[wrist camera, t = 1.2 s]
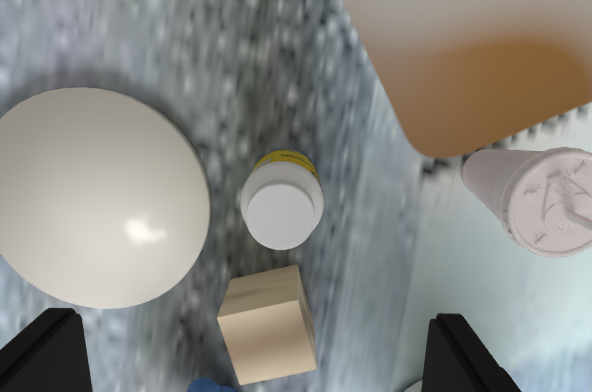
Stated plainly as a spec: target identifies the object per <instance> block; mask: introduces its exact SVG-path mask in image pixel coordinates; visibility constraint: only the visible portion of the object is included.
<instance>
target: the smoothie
mask: <svg viewBox="0 0 592 392" xmlns="http://www.w3.org/2000/svg"><path fill="white" fill-rule="evenodd" d="M462 178H463V181H464V184H465V185H466V187H467V188H468V189H469V190H470V191H471V192H472V193H473V194H474V195H475V196H476V197H477V198H478V199H479V200H480V201H481V202H482V203H483V204H484V205H485V206H486V207H487V208H488V209H489V210H490V211H491V212H492V213H493V214H494V215H495V216H496V217H497V218H498V219H499V220H500V221H501V222H502V225H503V227H504V229H505V231H506V232H507V234H508V235H509V237H510V238H511V239H512V240H513V241H515V242H516V243H517V244H518V245H519V246H522V247H524V248H526V249H527V250H529V251H530V252H532V253H535V254H537V255H541V256H545V257H565V256H570V255H573V254H576V253H579V252H581V251H583V250H585V249H587V248H589V247H591V246H592V153H589V152H585V151H583V150H581V149H575V148H569V147H562V148H552V149H549V150H546V151H522V150H503V149H482V150H479V151H477V152H475V153H474V154H472V155H471V156H470V157H469V158H468V159H467V161H466V162H465V164H464V166H463V170H462Z"/></svg>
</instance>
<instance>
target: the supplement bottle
mask: <svg viewBox="0 0 592 392" xmlns="http://www.w3.org/2000/svg"><path fill="white" fill-rule="evenodd" d="M240 207H241V213H242V216H243V219H244V221H245V223H246V224H247V227H248V229H249V231H250V233H251V235H252V236H253V237H254V238H255V240H256V241H258V242H259V243H260V244H262V245H264V246H266V247H268V248H271V249H276V250H286V249H291V248H294V247H296V246H298V245H300V244H301V243H303V242H304V241H305V240H306V239H307V238H308V237H309V235H310V234H311V232H312V231H313V230H314V228H315V227H316V226H317V224H318V223H319V221H320V219H321V216H322V213H323V208H324V197H323V191H322V188H321V184H320V180H319V176H318V173H317V170H316V168H315V166H314V165H313V163H312V162H311V161H310V159H309V158H308V157H306V156H305V155H304V154H302V153H300V152H298V151H295V150H291V149H278V150H274V151H272V152H270V153H268V154H266V155H265V156H263V157H262V158H261V159H260V160H259V161H258V163H257V164H256V165H255V167H254V169H253V170H252V172H251V174H250V176H249V177H248V179H247V181H246V182H245V184H244V187H243V190H242V193H241V198H240Z"/></svg>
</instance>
